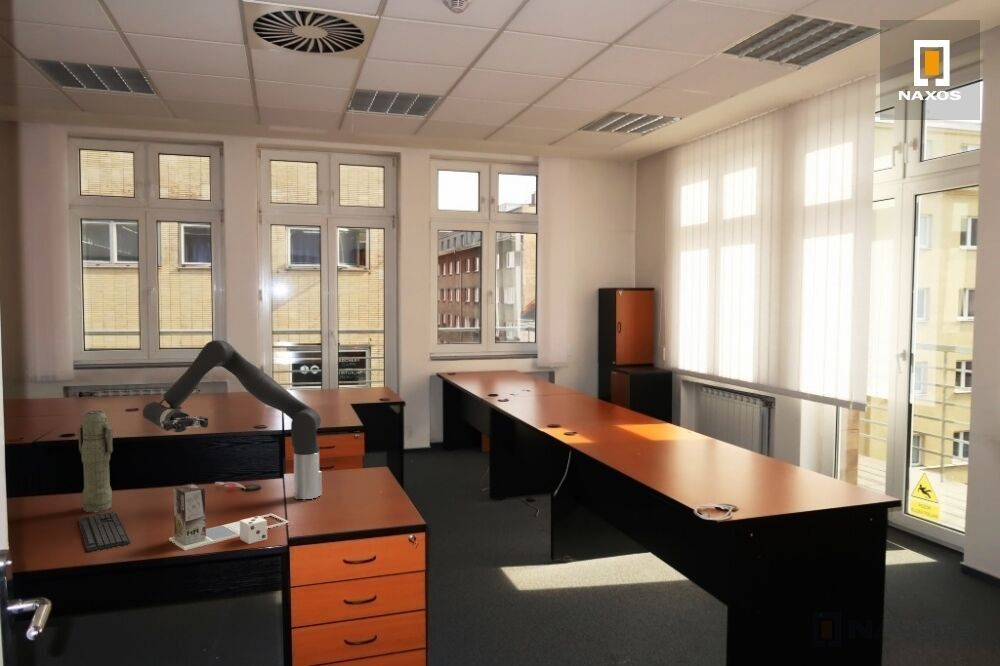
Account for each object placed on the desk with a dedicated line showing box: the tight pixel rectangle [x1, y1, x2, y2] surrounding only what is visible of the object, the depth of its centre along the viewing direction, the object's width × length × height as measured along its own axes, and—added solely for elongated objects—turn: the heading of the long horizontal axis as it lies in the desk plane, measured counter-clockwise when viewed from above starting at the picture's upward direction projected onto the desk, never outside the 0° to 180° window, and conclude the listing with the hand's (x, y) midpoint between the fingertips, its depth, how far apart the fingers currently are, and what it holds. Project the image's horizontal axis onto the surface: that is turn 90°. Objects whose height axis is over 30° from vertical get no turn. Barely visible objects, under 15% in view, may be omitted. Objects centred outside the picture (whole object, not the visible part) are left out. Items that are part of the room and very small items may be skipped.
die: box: [239, 515, 268, 545], centre depth 216 cm, size 6×6×6 cm
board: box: [169, 513, 290, 551], centre depth 222 cm, size 34×12×1 cm, turn 136°
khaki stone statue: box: [77, 410, 114, 512], centre depth 245 cm, size 9×12×35 cm
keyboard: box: [77, 511, 131, 553], centre depth 222 cm, size 35×11×2 cm, turn 35°
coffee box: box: [172, 483, 207, 544], centre depth 213 cm, size 9×6×16 cm
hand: (193, 426), depth 233 cm, fingers open, 8 cm apart
